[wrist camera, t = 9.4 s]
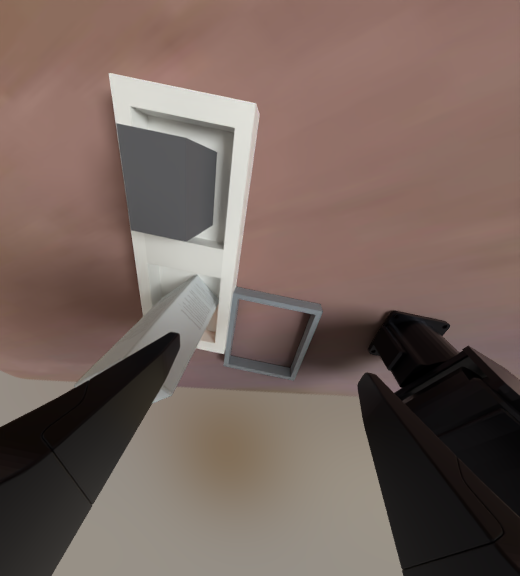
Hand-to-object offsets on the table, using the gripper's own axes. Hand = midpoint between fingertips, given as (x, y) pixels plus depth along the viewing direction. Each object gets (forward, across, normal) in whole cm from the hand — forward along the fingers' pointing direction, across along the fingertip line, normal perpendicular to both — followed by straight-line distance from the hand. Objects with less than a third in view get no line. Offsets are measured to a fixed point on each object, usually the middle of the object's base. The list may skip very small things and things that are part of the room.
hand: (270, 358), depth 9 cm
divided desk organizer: (+13, +9, 0) cm, 16 cm away
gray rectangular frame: (+13, -1, +10) cm, 16 cm away
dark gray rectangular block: (+12, +9, -6) cm, 16 cm away
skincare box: (+13, +9, +7) cm, 17 cm away
